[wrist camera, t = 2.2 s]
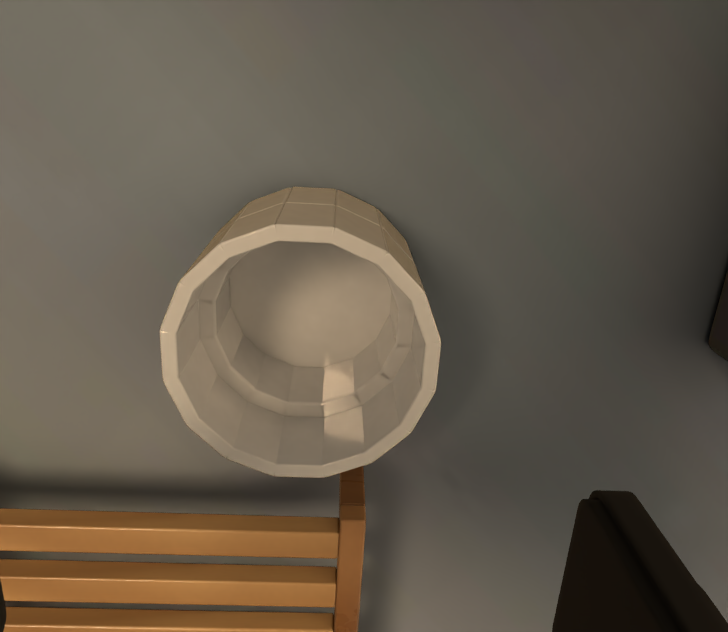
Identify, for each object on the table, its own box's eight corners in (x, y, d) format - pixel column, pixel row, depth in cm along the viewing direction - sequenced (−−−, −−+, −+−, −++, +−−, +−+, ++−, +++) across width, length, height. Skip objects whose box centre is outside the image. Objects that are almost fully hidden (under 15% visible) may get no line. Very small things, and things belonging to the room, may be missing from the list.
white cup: (203, 178, 19) (151, 217, 14) (424, 190, 19) (454, 232, 14) (210, 377, 21) (168, 474, 16) (406, 385, 22) (426, 482, 17)
